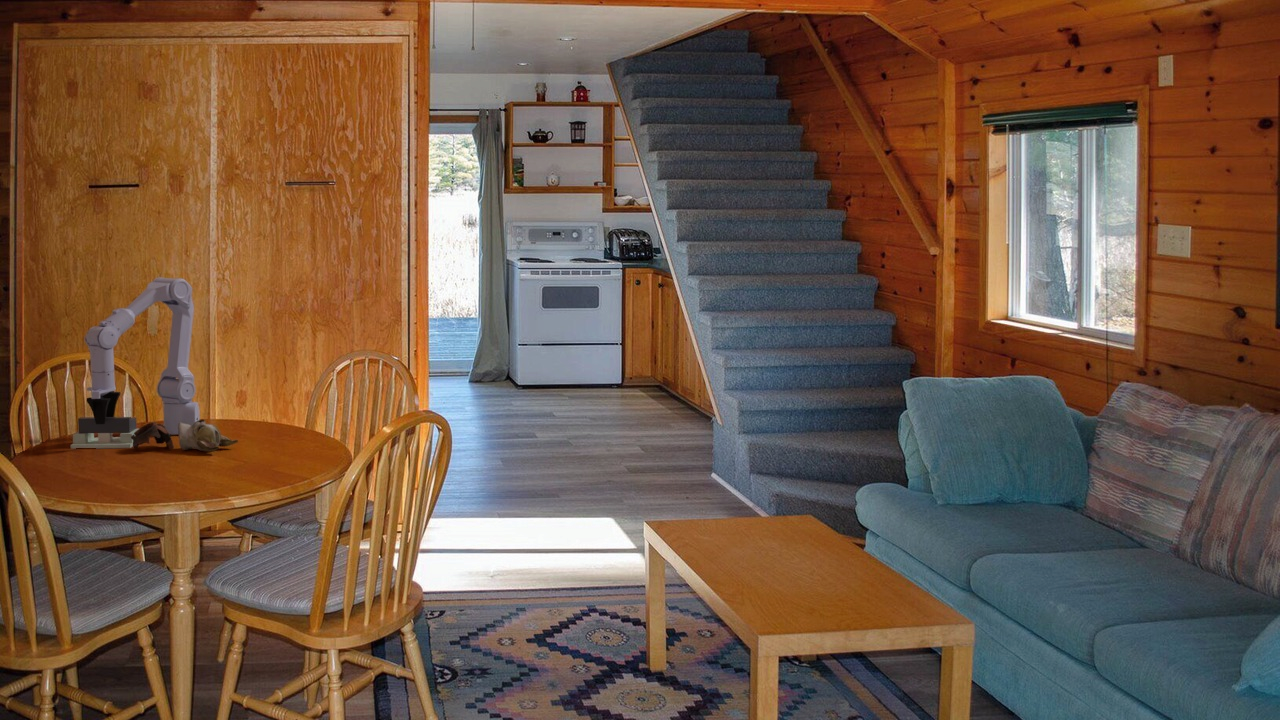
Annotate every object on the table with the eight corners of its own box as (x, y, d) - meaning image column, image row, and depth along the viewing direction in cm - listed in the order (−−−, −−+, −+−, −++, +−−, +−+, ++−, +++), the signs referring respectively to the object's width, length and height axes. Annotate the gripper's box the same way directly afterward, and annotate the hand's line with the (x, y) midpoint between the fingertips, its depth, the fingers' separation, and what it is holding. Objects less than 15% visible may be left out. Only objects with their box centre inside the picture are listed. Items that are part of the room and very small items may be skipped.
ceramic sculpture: (191, 413, 331) (240, 419, 328) (190, 444, 333) (239, 451, 329) (166, 419, 321) (217, 426, 318) (166, 452, 322) (216, 459, 319)
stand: (141, 440, 338) (140, 427, 338) (130, 448, 327) (129, 435, 327) (83, 441, 336) (83, 428, 336) (70, 448, 325) (70, 435, 325)
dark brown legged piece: (172, 454, 323) (154, 429, 320) (140, 469, 323) (122, 444, 320) (182, 434, 334) (165, 410, 331) (151, 449, 334) (134, 425, 331)
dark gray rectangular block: (136, 428, 337) (136, 413, 337) (129, 432, 330) (129, 418, 330) (86, 428, 335) (86, 414, 335) (78, 433, 328) (78, 418, 328)
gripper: (95, 367, 335) (97, 417, 337) (78, 375, 321) (80, 426, 322) (122, 367, 336) (124, 416, 338) (106, 374, 322) (108, 426, 323)
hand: (104, 421), depth 330 cm, fingers open, 7 cm apart
